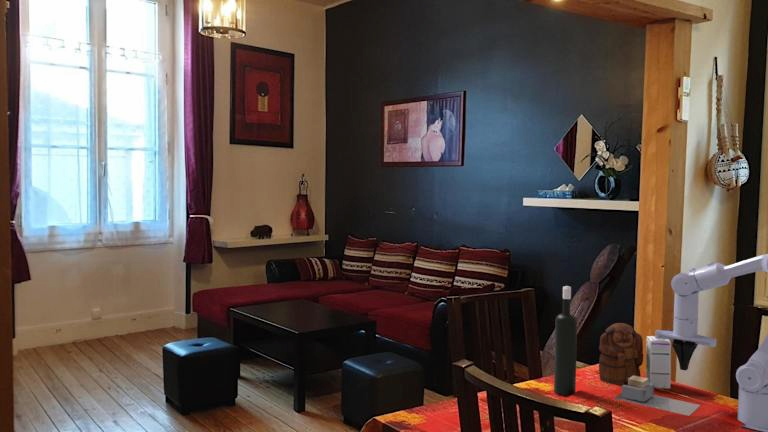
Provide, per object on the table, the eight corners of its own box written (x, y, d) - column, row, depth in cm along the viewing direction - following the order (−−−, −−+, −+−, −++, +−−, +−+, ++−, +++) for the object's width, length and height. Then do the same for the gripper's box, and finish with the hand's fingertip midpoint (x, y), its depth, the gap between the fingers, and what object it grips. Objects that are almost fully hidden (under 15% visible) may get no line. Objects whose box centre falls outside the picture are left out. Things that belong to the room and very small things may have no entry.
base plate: (700, 408, 166) (700, 395, 165) (689, 419, 158) (689, 405, 158) (627, 392, 178) (627, 380, 178) (613, 401, 170) (613, 389, 170)
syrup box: (671, 392, 179) (672, 341, 178) (648, 390, 180) (650, 340, 179) (666, 385, 184) (667, 336, 184) (644, 384, 186) (646, 335, 185)
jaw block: (647, 396, 172) (648, 378, 172) (642, 400, 169) (643, 381, 168) (633, 393, 174) (633, 375, 174) (627, 397, 171) (628, 378, 171)
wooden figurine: (607, 388, 181) (608, 326, 180) (596, 381, 188) (598, 321, 187) (645, 387, 183) (647, 325, 182) (634, 380, 189) (636, 320, 188)
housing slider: (653, 394, 172) (654, 383, 172) (644, 401, 167) (644, 390, 167) (631, 389, 176) (631, 379, 176) (621, 396, 171) (621, 385, 171)
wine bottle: (554, 395, 175) (557, 287, 174) (553, 388, 181) (555, 284, 179) (576, 396, 174) (579, 288, 173) (574, 390, 180) (576, 285, 178)
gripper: (720, 319, 164) (718, 371, 165) (661, 311, 174) (660, 360, 175) (712, 324, 159) (711, 377, 160) (653, 315, 169) (651, 366, 169)
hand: (684, 369), depth 167 cm, fingers closed
